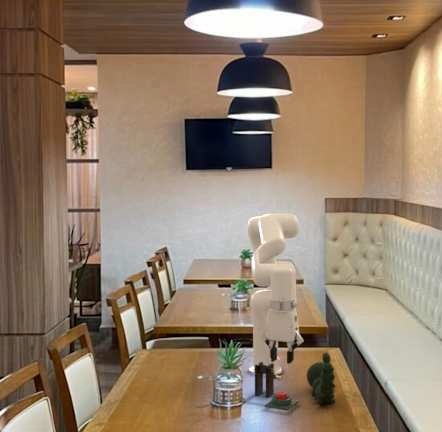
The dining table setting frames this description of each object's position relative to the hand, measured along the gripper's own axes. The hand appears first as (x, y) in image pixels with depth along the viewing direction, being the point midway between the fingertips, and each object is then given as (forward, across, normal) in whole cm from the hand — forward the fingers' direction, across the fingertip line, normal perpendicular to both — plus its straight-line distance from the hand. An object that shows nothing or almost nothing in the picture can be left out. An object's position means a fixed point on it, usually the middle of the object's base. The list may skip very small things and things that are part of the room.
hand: (281, 361), depth 213 cm
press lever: (+9, +9, -9) cm, 16 cm away
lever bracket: (+15, +9, -6) cm, 19 cm away
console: (+15, 0, 0) cm, 15 cm away
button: (+12, 0, 0) cm, 12 cm away
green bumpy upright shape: (+16, -9, -14) cm, 23 cm away
